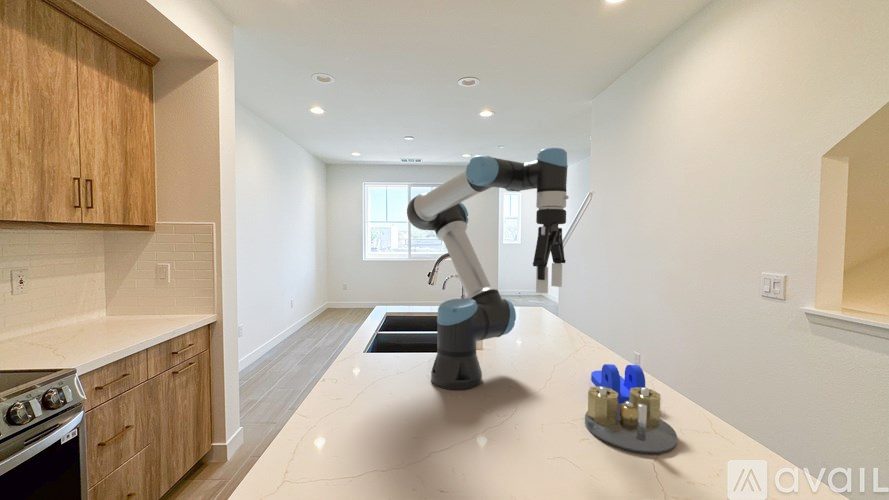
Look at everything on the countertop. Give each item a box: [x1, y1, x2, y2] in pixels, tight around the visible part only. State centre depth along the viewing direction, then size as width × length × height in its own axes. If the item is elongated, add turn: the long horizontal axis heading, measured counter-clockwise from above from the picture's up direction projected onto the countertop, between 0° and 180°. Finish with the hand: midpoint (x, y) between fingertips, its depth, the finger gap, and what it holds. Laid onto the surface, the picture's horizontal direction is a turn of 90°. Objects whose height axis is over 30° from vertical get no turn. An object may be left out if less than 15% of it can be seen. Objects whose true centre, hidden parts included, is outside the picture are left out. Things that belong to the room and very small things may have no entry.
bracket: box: [590, 363, 646, 405], centre depth 100 cm, size 18×8×9 cm, turn 177°
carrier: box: [584, 386, 678, 456], centre depth 79 cm, size 18×18×8 cm
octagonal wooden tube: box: [587, 386, 619, 425], centre depth 82 cm, size 6×6×6 cm
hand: (549, 289), depth 94 cm, fingers open, 13 cm apart
